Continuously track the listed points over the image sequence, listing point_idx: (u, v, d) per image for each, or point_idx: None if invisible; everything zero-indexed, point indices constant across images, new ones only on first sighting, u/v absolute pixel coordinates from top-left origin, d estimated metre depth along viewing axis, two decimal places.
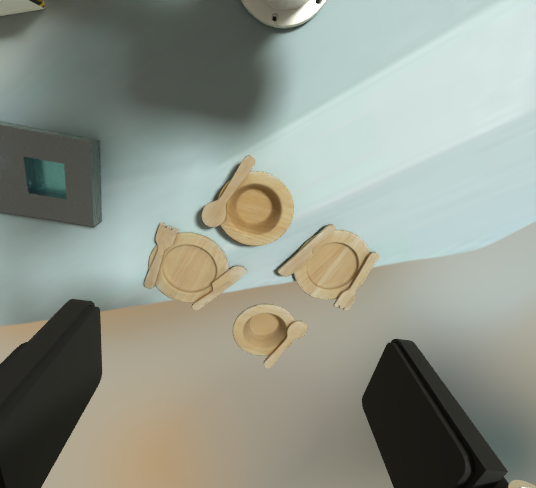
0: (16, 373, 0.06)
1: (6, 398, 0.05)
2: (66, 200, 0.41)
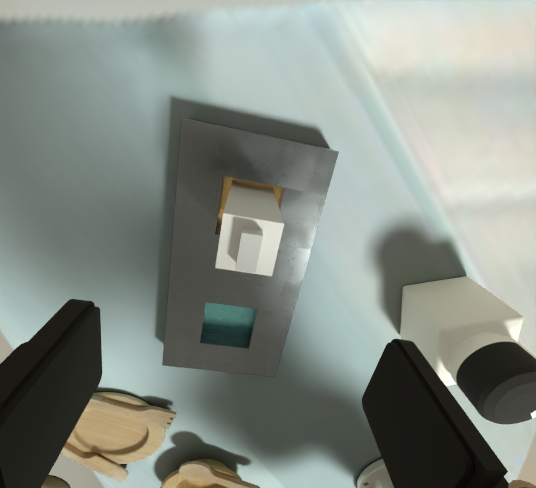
0: (16, 373, 0.06)
1: (6, 398, 0.05)
2: (198, 342, 0.29)
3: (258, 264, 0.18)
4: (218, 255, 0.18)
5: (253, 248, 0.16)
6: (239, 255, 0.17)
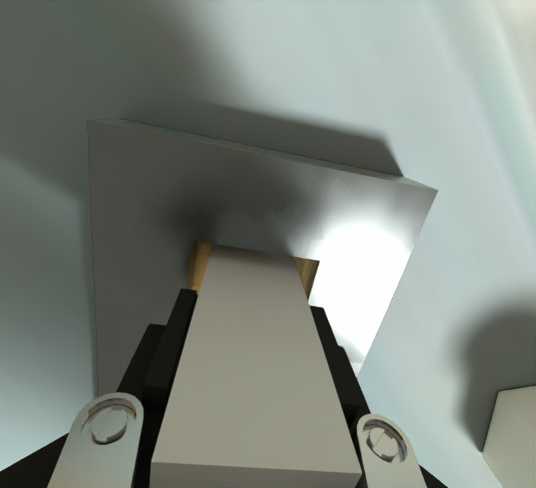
0: (172, 343, 0.07)
1: (174, 361, 0.07)
2: None
3: None
4: None
5: None
6: None
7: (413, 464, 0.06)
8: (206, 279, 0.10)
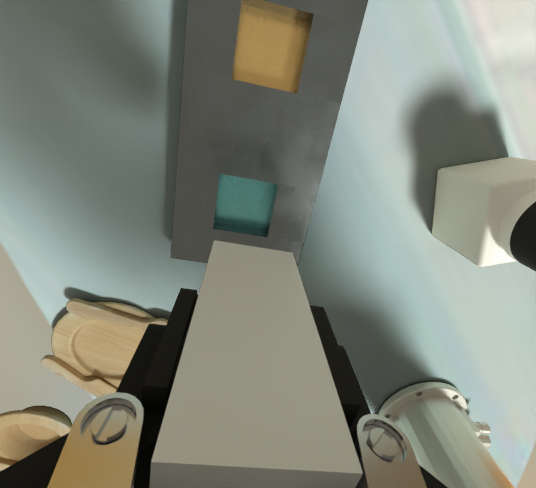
0: (172, 343, 0.07)
1: (175, 361, 0.07)
2: (211, 228, 0.26)
3: None
4: None
5: None
6: None
7: (413, 464, 0.06)
8: (206, 279, 0.10)
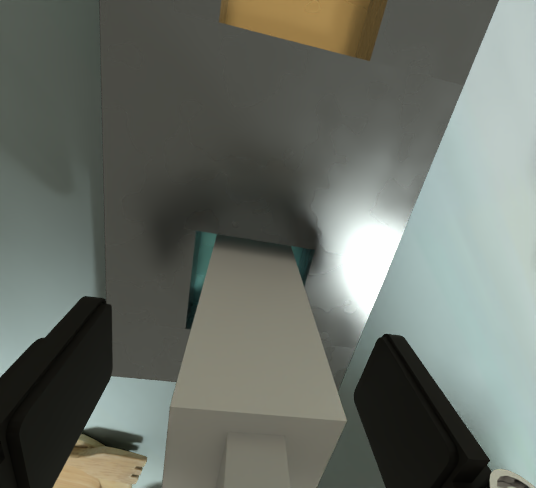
0: (36, 367, 0.06)
1: (27, 390, 0.05)
2: (182, 327, 0.14)
3: None
4: None
5: None
6: None
7: None
8: (211, 266, 0.11)
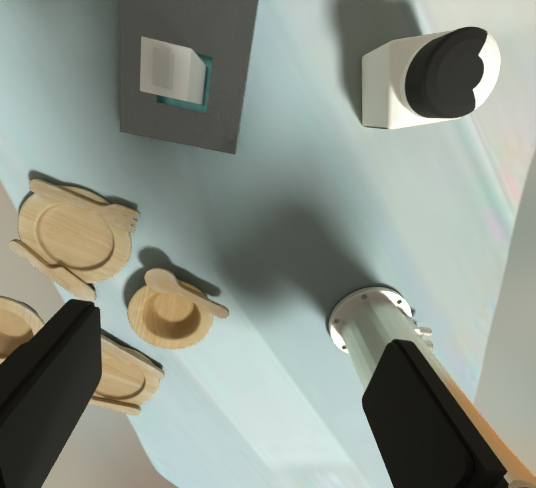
0: (16, 373, 0.06)
1: (6, 398, 0.05)
2: (154, 101, 0.29)
3: (174, 88, 0.23)
4: (141, 78, 0.22)
5: (164, 63, 0.21)
6: (154, 69, 0.21)
7: None
8: None
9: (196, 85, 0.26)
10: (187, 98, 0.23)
